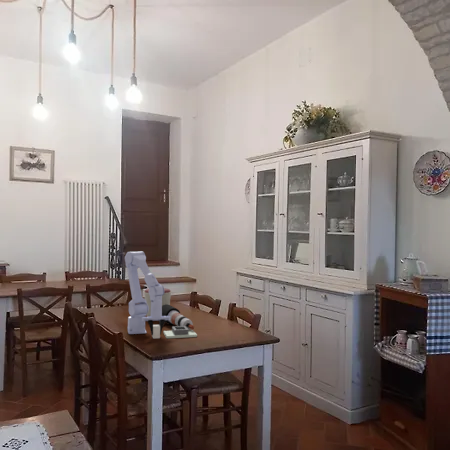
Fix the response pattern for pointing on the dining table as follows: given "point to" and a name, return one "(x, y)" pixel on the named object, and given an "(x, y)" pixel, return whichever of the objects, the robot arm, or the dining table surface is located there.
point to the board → (179, 332)
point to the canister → (164, 299)
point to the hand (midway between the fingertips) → (156, 334)
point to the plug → (156, 331)
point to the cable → (176, 317)
